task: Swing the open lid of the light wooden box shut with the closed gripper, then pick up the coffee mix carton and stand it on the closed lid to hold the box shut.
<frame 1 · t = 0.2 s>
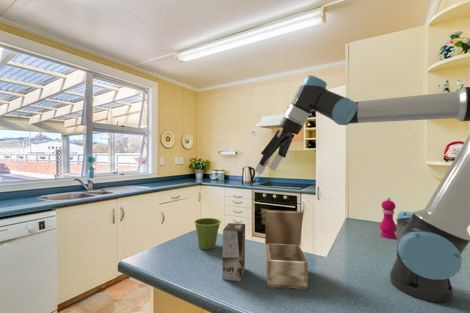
hand: (265, 170, 86), 35 cm above the countertop, tool tilted 30°, fingers open, 13 cm apart
plant pot: (207, 247, 101), on the countertop
pepper mill: (388, 236, 117), on the countertop
lid: (283, 228, 81), point 15 cm above the countertop, hinge at 65.0°
box: (284, 276, 77), on the countertop
coffee box: (234, 274, 78), on the countertop
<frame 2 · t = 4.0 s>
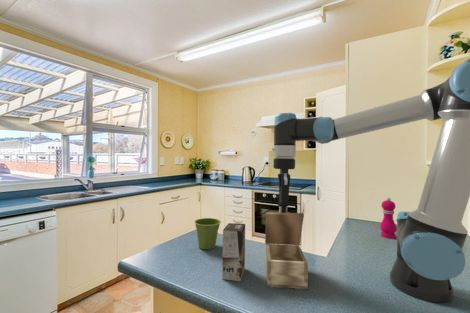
hand: (282, 223, 81), 16 cm above the countertop, tool pointing down, fingers closed
lid: (283, 229, 81), point 15 cm above the countertop, hinge at 61.2°, touching gripper
everything else where it was.
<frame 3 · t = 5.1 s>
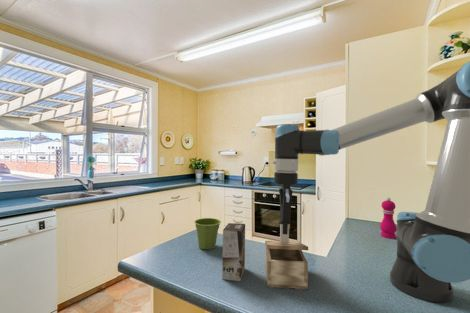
hand: (284, 242, 76), 12 cm above the countertop, tool pointing down, fingers closed
lid: (284, 245, 77), point 10 cm above the countertop, hinge at 15.0°, touching gripper
everything else where it was.
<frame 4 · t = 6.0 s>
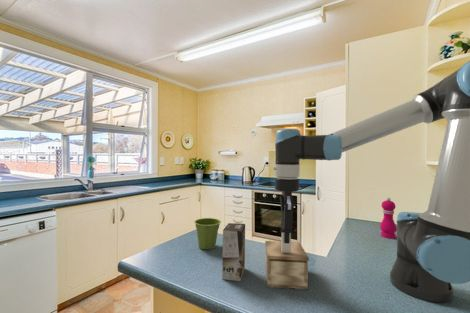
hand: (285, 251, 73), 10 cm above the countertop, tool pointing down, fingers closed
lid: (284, 249, 77), point 9 cm above the countertop, hinge at 2.9°, touching gripper
everything else where it was.
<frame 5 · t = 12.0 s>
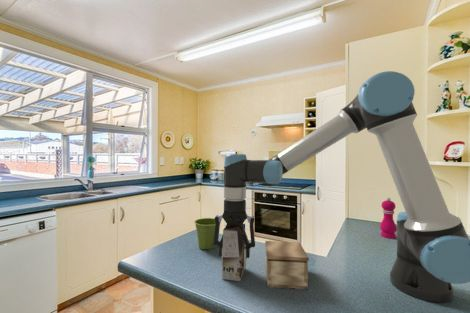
hand: (234, 266, 78), 3 cm above the countertop, tool pointing down, fingers closed on coffee box, 7 cm apart
lid: (284, 250, 77), point 9 cm above the countertop, hinge at 2.8°
coffee box: (234, 274, 78), on the countertop, touching gripper
everything else where it was.
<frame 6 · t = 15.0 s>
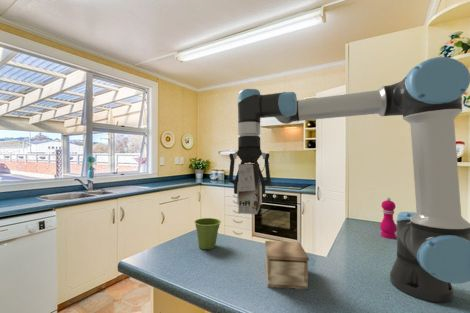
hand: (249, 203, 78), 24 cm above the countertop, tool pointing down, fingers closed on coffee box, 7 cm apart
coffee box: (249, 211, 78), point 21 cm above the countertop, touching gripper
everything else where it was.
when the fingers open (13 cm above the countertop, at t = 18.4 s): coffee box drops 1 cm, resting on lid.
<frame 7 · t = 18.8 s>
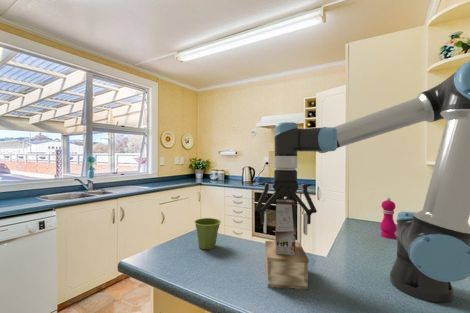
hand: (284, 232, 77), 15 cm above the countertop, tool pointing down, fingers open, 13 cm apart
lid: (284, 250, 77), point 9 cm above the countertop, hinge at 0.3°, touching coffee box
coffee box: (285, 250, 77), point 9 cm above the countertop, touching lid
everything else where it was.
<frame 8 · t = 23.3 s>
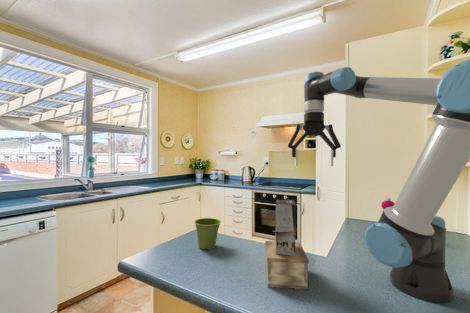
hand: (313, 165, 91), 37 cm above the countertop, tool pointing down, fingers open, 13 cm apart
lid: (284, 251, 77), point 8 cm above the countertop, hinge at 0.0°, touching box, coffee box
everything else where it was.
at the end: lid at +0° (first picture: +65°); coffee box inside the target area on the box (0.1 cm from its centre), point 8.8 cm above the box's base; coffee box tilted 0° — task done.
